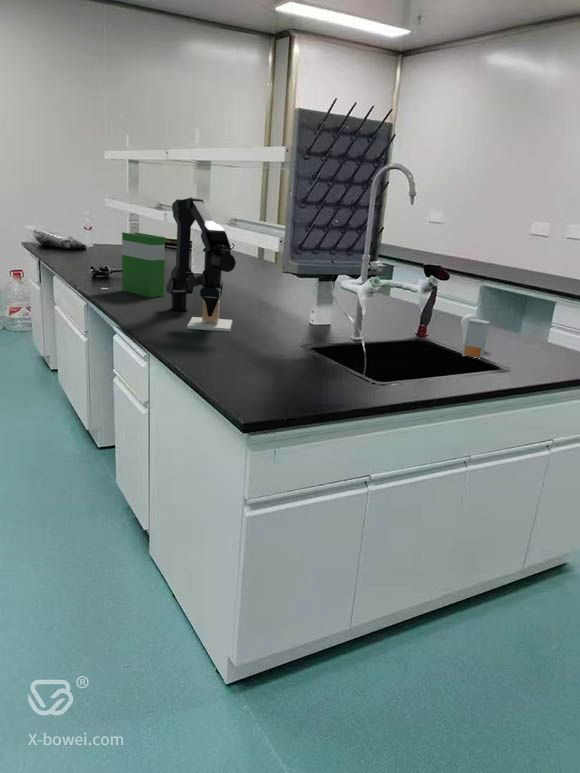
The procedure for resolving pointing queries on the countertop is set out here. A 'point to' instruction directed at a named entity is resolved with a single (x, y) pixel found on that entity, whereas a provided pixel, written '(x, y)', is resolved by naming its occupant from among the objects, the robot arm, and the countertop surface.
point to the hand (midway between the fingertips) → (211, 313)
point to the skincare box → (476, 338)
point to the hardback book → (143, 264)
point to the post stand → (210, 324)
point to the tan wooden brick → (214, 316)
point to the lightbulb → (466, 324)
